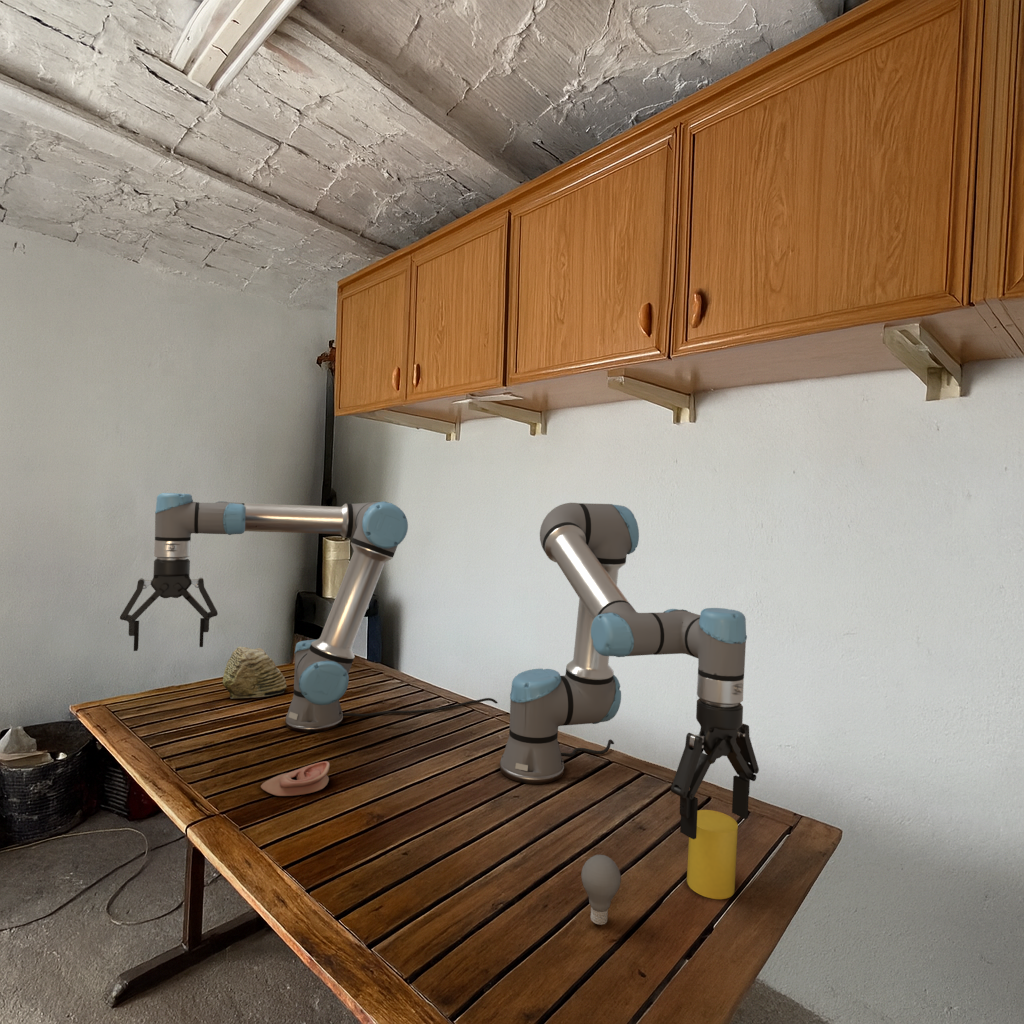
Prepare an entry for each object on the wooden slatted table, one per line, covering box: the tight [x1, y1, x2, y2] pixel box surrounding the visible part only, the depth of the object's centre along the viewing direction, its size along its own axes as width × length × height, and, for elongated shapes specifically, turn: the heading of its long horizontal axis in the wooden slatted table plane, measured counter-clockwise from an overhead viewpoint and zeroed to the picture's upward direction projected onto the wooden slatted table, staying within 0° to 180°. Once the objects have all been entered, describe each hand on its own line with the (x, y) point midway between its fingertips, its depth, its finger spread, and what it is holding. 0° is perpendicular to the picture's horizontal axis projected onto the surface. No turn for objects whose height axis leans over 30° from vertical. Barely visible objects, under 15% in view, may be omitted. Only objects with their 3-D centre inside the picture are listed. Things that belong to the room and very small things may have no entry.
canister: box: [686, 809, 739, 900], centre depth 108 cm, size 8×8×11 cm
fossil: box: [222, 646, 288, 699], centre depth 198 cm, size 9×18×15 cm, turn 132°
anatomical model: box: [260, 760, 331, 797], centre depth 138 cm, size 13×4×12 cm
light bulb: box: [580, 854, 622, 926], centre depth 97 cm, size 6×6×10 cm
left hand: (169, 647), depth 150 cm, fingers open, 13 cm apart
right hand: (714, 825), depth 108 cm, fingers open, 13 cm apart
